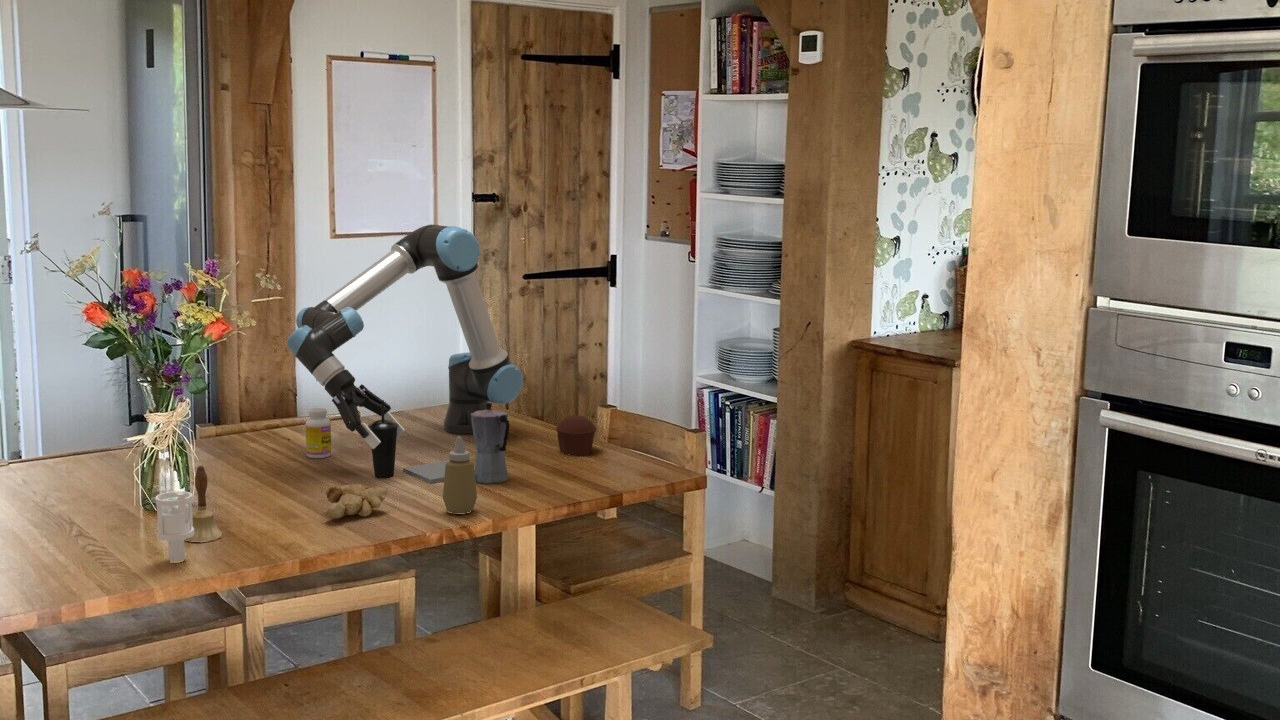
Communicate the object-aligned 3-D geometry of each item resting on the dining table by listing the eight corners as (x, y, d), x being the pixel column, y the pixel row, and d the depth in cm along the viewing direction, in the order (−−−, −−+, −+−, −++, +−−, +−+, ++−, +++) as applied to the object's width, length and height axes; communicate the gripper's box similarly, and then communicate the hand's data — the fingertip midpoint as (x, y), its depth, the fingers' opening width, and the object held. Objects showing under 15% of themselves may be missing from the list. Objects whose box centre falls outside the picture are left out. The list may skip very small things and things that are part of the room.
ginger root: (375, 493, 302) (376, 464, 299) (394, 526, 290) (394, 496, 286) (310, 503, 296) (310, 473, 292) (326, 537, 283) (326, 506, 280)
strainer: (169, 569, 252) (165, 497, 249) (152, 561, 257) (148, 490, 254) (202, 561, 257) (198, 490, 255) (184, 553, 262) (181, 483, 259)
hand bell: (230, 532, 276) (227, 462, 273) (211, 544, 268) (208, 472, 265) (195, 530, 277) (191, 460, 274) (175, 541, 269) (171, 470, 266)
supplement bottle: (322, 460, 337) (321, 413, 335) (301, 457, 339) (300, 411, 337) (336, 454, 344) (335, 408, 341) (315, 452, 346) (314, 406, 343)
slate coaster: (449, 463, 336) (449, 459, 336) (477, 474, 325) (477, 470, 325) (403, 471, 327) (402, 468, 327) (430, 483, 316) (430, 479, 316)
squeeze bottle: (446, 506, 297) (445, 432, 294) (479, 507, 297) (479, 433, 294) (439, 516, 289) (438, 440, 286) (474, 517, 289) (473, 441, 286)
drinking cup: (403, 473, 326) (401, 397, 322) (394, 480, 318) (392, 404, 315) (374, 471, 326) (372, 396, 323) (365, 479, 319) (363, 402, 315)
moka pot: (489, 471, 329) (488, 396, 325) (526, 483, 318) (526, 406, 314) (459, 477, 322) (458, 401, 319) (496, 490, 311) (496, 411, 308)
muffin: (599, 456, 346) (600, 420, 344) (560, 457, 344) (560, 422, 342) (590, 445, 358) (591, 411, 356) (552, 447, 355) (552, 412, 353)
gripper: (349, 378, 334) (401, 437, 333) (300, 396, 310) (356, 460, 309) (366, 360, 332) (419, 419, 331) (319, 377, 308) (376, 441, 307)
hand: (389, 439), depth 320 cm, fingers open, 13 cm apart
